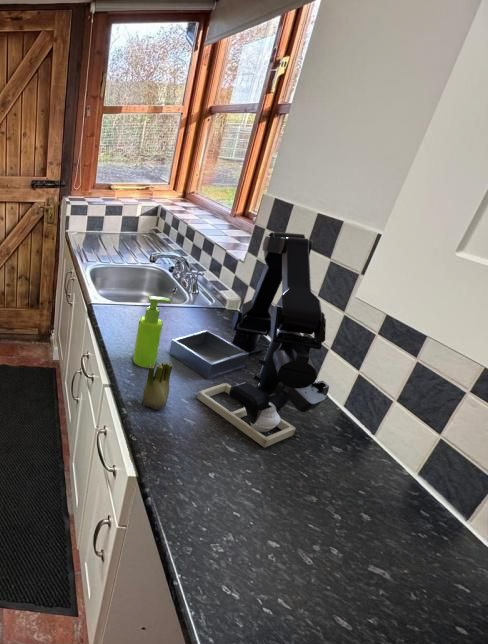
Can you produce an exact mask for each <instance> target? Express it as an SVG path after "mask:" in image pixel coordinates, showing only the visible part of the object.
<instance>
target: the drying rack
mask: <svg viewBox="0 0 488 644" xmlns="http://www.w3.org/2000/svg"><path fill="white" fill-rule="evenodd" d="M232 386H233V385H231V384H229V383H227V382H223V383H221V384H220V383H219V384H217V385H215V386H211V387H209V388H208V387H207V388H206V389H202V390H199V391H198V393H197V397H196V399H197V400H199V401H200V402H202V403H203V404H205V405H206V406H207V407H208V408H210V409H211V410H212V411H214V412H215V413H216V414H218V415H219V416H221V417H222V418H223V419H225V420H226V421H227V422H228V423H230V424H231V425H233V426H234V427H235V428H236V429H238V430H240V431H241V432H242V433H244V434H245V435H247V436H248V437H249V438H250V439H252V440H253V441H255V442H256V443H257V444H259V445H260V446H261V447H263V448H267V447H269V446H272V445H274V444H276V443H278V442H281V441H283V440H285V439H288V438H291V437H292V436H294V435H295V432H296V429H297V427H295V426H294V425H292V424H291V423H290V422H287V421H286V420H284V419H283V418H281V417H280V422H279V424H278V425H277V426H276V427H277V428H278V429H280V431H277V432H275V433H273V434H270V435H268V436H265V435H264V434H263V433H262V432H259V431H257V430H255V429H254V428H253V427H252V426H251V424H250V425H249V424H248V423H247V422H245V421H244V420H243V419H241V418H244V417H246V416H247V413H246V410H245V407H244V406H243V407H241V408H238V409H236V410H234V411H230V410H229V409H227V408H226V407H224V406H223V405H222V404H220V403H219V402H217V401H216V400H214V399H213V398H212V397H214V396H216V395H218V394H221V393H224V392H225V393H226V394H228V395H229V391H230V388H231V387H232Z"/></svg>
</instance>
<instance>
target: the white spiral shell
mask: <svg viewBox="0 0 488 644" xmlns="http://www.w3.org/2000/svg"><path fill="white" fill-rule="evenodd" d="M269 405H270V406H272V407H271V408H268V409H266V410H263V411H262V412H261V414H260V416H259V418H258V420H257V421H256V423H255V424H252V423H251V422H250V421H249V424H250V426H251V427H253V428H254V429H255V430H257V431H258V432H260V433H267V432H269V431H271V430H273V429H274V428H276V427H277V425H278V424H279V422H280V418H281V416H280V415H279V412H278V413H277V411H276V407H275V406H274V405H273V404H272V403H270V402H269Z"/></svg>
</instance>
